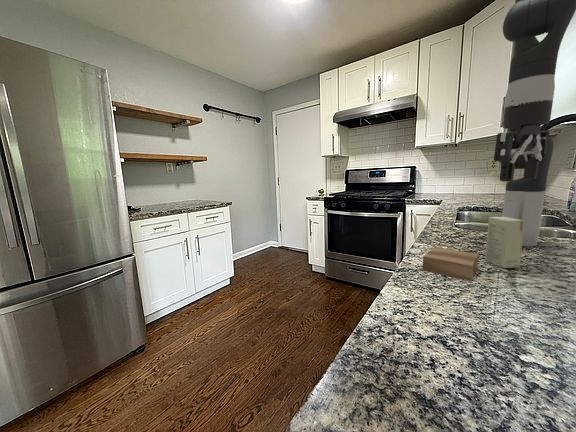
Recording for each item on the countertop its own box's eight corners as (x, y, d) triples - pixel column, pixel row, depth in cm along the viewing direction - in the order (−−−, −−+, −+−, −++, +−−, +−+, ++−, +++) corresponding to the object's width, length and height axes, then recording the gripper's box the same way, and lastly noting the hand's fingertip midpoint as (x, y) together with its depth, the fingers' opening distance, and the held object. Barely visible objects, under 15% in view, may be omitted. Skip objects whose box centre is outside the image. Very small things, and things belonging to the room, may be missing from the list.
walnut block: (433, 260, 70) (434, 246, 70) (477, 269, 63) (478, 254, 63) (422, 271, 63) (423, 256, 63) (470, 282, 56) (471, 265, 56)
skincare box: (520, 268, 62) (527, 220, 60) (502, 268, 62) (508, 221, 60) (499, 259, 68) (504, 215, 66) (483, 259, 68) (488, 216, 66)
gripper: (526, 108, 59) (518, 177, 62) (486, 106, 54) (479, 181, 57) (571, 99, 52) (558, 177, 55) (528, 97, 47) (518, 182, 50)
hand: (518, 179), depth 56 cm, fingers open, 8 cm apart
